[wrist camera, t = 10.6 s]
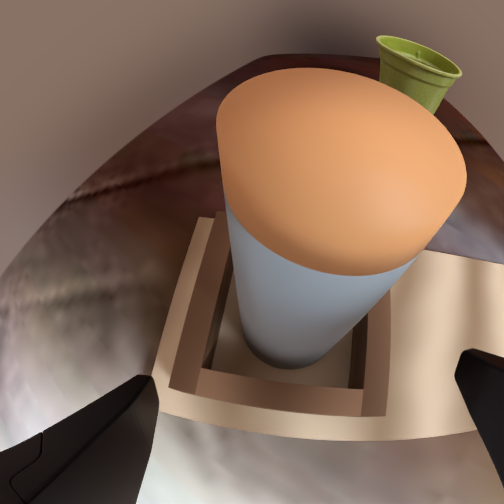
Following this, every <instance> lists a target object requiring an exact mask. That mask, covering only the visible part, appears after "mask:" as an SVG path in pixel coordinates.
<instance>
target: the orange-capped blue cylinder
mask: <svg viewBox="0 0 504 504" xmlns="http://www.w3.org/2000/svg"><path fill="white" fill-rule="evenodd" d="M216 128H217V137H218V146H219V155H220V163H221V172H222V180H223V189H224V197H225V205H226V213H227V221H228V229H229V237H230V245H231V252H232V260H233V267H234V275H235V282H236V290H237V297H238V304H239V311H240V318H241V325H242V331H243V336H244V339H245V342H246V343H247V345H248V347H249V349H250V350H251V351H252V353H253V354H254V355H255V356H256V357H257V358H259V359H260V360H261V361H263V362H264V363H266V364H268V365H270V366H272V367H276V368H279V369H288V370H292V369H300V368H304V367H306V366H309V365H311V364H313V363H315V362H316V361H318V360H319V359H320V358H321V357H323V356H324V355H325V354H326V353H327V352H328V351H329V350H330V349H331V348H332V347H333V346H334V345H335V344H336V343H338V342H339V341H340V340H341V339H342V338H343V337H344V336H345V335H346V334H347V333H348V332H349V331H350V330H351V329H352V328H353V327H354V326H355V325H356V324H357V323H358V322H359V321H360V320H361V319H362V318H363V317H364V316H365V315H366V314H367V313H368V312H369V311H370V310H371V309H372V307H373V306H374V305H375V304H376V303H377V302H378V301H379V300H380V299H381V298H382V297H383V296H384V295H385V293H386V292H387V291H388V290H389V289H390V288H391V287H392V286H393V285H394V283H395V282H396V281H397V280H398V279H399V278H400V277H401V275H402V274H403V273H404V272H405V271H406V270H407V268H408V267H409V266H410V265H411V264H412V263H413V261H414V260H415V259H416V258H417V257H418V255H419V254H420V253H421V252H422V250H423V249H424V248H425V247H426V245H427V244H428V243H429V242H430V240H431V239H432V238H433V236H434V235H435V234H436V233H437V231H438V230H439V229H440V227H441V226H442V225H443V223H444V222H445V221H446V219H447V218H448V216H449V215H450V214H451V212H452V211H453V210H454V208H455V207H456V205H457V204H458V202H459V201H460V199H461V197H462V195H463V193H464V190H465V187H466V177H467V174H466V167H465V163H464V159H463V156H462V154H461V152H460V149H459V147H458V145H457V144H456V142H455V140H454V139H453V137H452V136H451V134H450V133H449V132H448V131H447V129H446V128H445V127H444V126H443V125H442V124H441V122H440V121H439V120H438V119H437V118H436V117H435V116H433V115H432V114H431V113H430V112H429V111H428V110H427V109H425V108H424V107H423V106H421V105H420V104H419V103H417V102H416V101H414V100H413V99H411V98H410V97H408V96H407V95H405V94H403V93H401V92H399V91H398V90H396V89H394V88H392V87H389V86H387V85H385V84H383V83H380V82H378V81H375V80H373V79H370V78H367V77H363V76H360V75H356V74H353V73H348V72H343V71H338V70H331V69H322V68H293V69H284V70H278V71H273V72H269V73H265V74H262V75H259V76H256V77H254V78H252V79H249V80H247V81H245V82H244V83H242V84H240V85H239V86H237V87H236V88H235V89H233V90H232V91H231V92H230V93H229V94H228V95H227V96H226V97H225V99H224V100H223V102H222V103H221V105H220V107H219V110H218V113H217V120H216Z"/></svg>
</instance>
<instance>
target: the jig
mask: <svg viewBox="0 0 504 504" xmlns="http://www.w3.org/2000/svg"><path fill="white" fill-rule="evenodd" d="M470 348H475V349H478V350H481V351H485V352H488V353H491V354H494V355H497V356H501V357H504V265H501V264H497V263H492V262H487V261H482V260H476V259H471V258H466V257H461V256H455V255H450V254H445V253H439V252H434V251H428V250H422V252H421V253H420V254H419V255H418V257H417V258H416V259H415V260H414V261H413V263H412V264H411V265H410V266H409V267H408V268H407V270H406V271H405V272H404V273H403V274H402V275H401V277H400V278H399V279H398V280H397V281H396V282H395V283H394V285H393V286H392V287H391V288H390V289H389V290H388V291H387V292H386V293H385V295H384V296H383V297H382V298H381V299H380V300H379V301H378V302H377V303H376V304H375V305H374V306H373V307H372V309H371V310H370V311H369V312H368V313H367V314H366V315H365V316H364V317H363V318H362V319H361V320H360V321H359V322H358V323H357V324H356V325H355V326H354V327H353V328H352V329H351V330H350V331H349V332H348V333H347V334H346V335H345V336H344V337H343V338H342V339H341V340H340V341H339V342H338V343H336V344H335V345H334V346H333V347H332V348H331V349H330V350H329V351H328V352H327V353H326V354H325V355H324V356H323V357H321V358H320V359H319V360H318V361H316V362H315V363H313V364H311V365H309V366H306V367H304V368H300V369H292V370H288V369H279V368H276V367H272V366H270V365H268V364H266V363H264V362H263V361H261V360H260V359H259V358H257V357H256V356H255V355H254V354H253V353H252V351H251V350H250V349H249V347H248V345H247V343H246V342H245V339H244V336H243V331H242V325H241V318H240V311H239V304H238V297H237V290H236V282H235V275H234V267H233V260H232V252H231V245H230V237H229V229H228V221H227V213H226V212H221V211H217V212H216V215H215V218H206V217H199V218H198V221H197V224H196V227H195V230H194V233H193V236H192V239H191V242H190V245H189V248H188V251H187V254H186V257H185V260H184V263H183V267H182V270H181V273H180V276H179V279H178V283H177V286H176V289H175V292H174V296H173V299H172V302H171V306H170V309H169V313H168V316H167V320H166V323H165V327H164V330H163V334H162V337H161V341H160V345H159V348H158V352H157V356H156V360H155V364H154V368H153V371H152V375H151V376H152V377H153V379H154V381H155V385H156V389H157V393H158V397H159V410H158V411H162V412H165V413H169V414H172V415H176V416H179V417H183V418H187V419H191V420H195V421H199V422H203V423H208V424H212V425H217V426H222V427H227V428H232V429H237V430H243V431H249V432H255V433H261V434H268V435H276V436H284V437H294V438H305V439H318V440H339V441H383V440H403V439H415V438H426V437H435V436H442V435H449V434H456V433H462V432H468V431H473V430H477V428H476V426H475V424H474V422H473V420H472V418H471V416H470V414H469V411H468V409H467V407H466V404H465V402H464V399H463V397H462V395H461V392H460V390H459V388H458V386H457V383H456V381H455V378H454V373H455V369H456V367H457V364H458V361H459V358H460V355H461V353H462V351H464V350H467V349H470Z"/></svg>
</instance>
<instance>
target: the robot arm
mask: <svg viewBox="0 0 504 504" xmlns="http://www.w3.org/2000/svg"><path fill="white" fill-rule="evenodd" d="M454 378H455V381H456V383H457V386H458V388H459V390H460V392H461V395H462V397H463V399H464V402H465V404H466V407H467V409H468V411H469V414H470V416H471V418H472V420H473V422H474V424H475V426H476V428H477V430H478V432H479V434H480V436H481V438H482V440H483V442H484V444H485V446H486V448H487V450H488V453H489V455H490V457H491V459H492V461H493V464H494V466H495V468H496V470H497V473H498V475H499V478H500V480H501V482H502V485H503V487H504V357H501V356H497V355H494V354H491V353H488V352H485V351H481V350H478V349H475V348H470V349H467V350H464V351H462V353H461V355H460V358H459V361H458V364H457V367H456V369H455V373H454ZM158 410H159V397H158V393H157V389H156V385H155V381H154V379H153V377H152V376H149V375H136V376H135V377H133V378H131V379H130V380H128V381H127V382H125V383H123V384H122V385H120V386H118V387H117V388H115V389H114V390H112V391H110V392H109V393H107V394H105V395H104V396H102V397H100V398H99V399H97V400H96V401H94V402H92V403H90V404H89V405H87V406H85V407H84V408H82V409H80V410H79V411H77V412H75V413H74V414H72V415H70V416H68V417H67V418H65V419H63V420H61V421H60V422H58V423H56V424H54V425H53V426H51V427H49V428H47V429H46V430H44V431H43V433H42V432H40V433H38V434H37V435H35V436H33V437H31V438H29V439H27V440H25V441H23V442H21V443H19V444H17V445H15V446H13V447H11V448H9V449H6V450H4V451H2V452H0V504H136V501H137V498H138V494H139V491H140V487H141V484H142V480H143V477H144V474H145V470H146V467H147V464H148V461H149V457H150V454H151V449H152V444H153V438H154V432H155V427H156V421H157V416H158Z"/></svg>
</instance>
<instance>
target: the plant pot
mask: <svg viewBox="0 0 504 504" xmlns="http://www.w3.org/2000/svg"><path fill="white" fill-rule="evenodd" d="M376 42H377V44H378V45H379V55H380V58H381V64H380V79H379V82H380V83H383V84H385V85H387V86H389V87H392V88H394V89H396V90H398V91H399V92H401V93H403V94H405V95H407V96H408V97H410V98H411V99H413V100H414V101H416V102H417V103H419V104H420V105H421V106H423V107H424V108H425V109H427V110H428V111H429V112H430V113H431V114H432V115H434V113H435V111H436V109H437V108H438V106H439V104H440V102H441V101H442V99H443V97H444V95H445V93H446V92H447V90H448V88H449V87H450V86H452V84H453V83H454V81H455V79H456V78H459V77H461V75H462V71H461V70H460V69H459V68H458V66H456V65H455V64H454V63H453V62H452V61H450V60H449V59H447V58H446V57H444V56H442V55H441V54H439V53H437V52H435V51H433V50H431V49H429V48H427V47H425V46H422V45H420V44H418V43H415V42H412V41H409V40H405V39H401V38H397V37H392V36H378V37H377V38H376Z"/></svg>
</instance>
